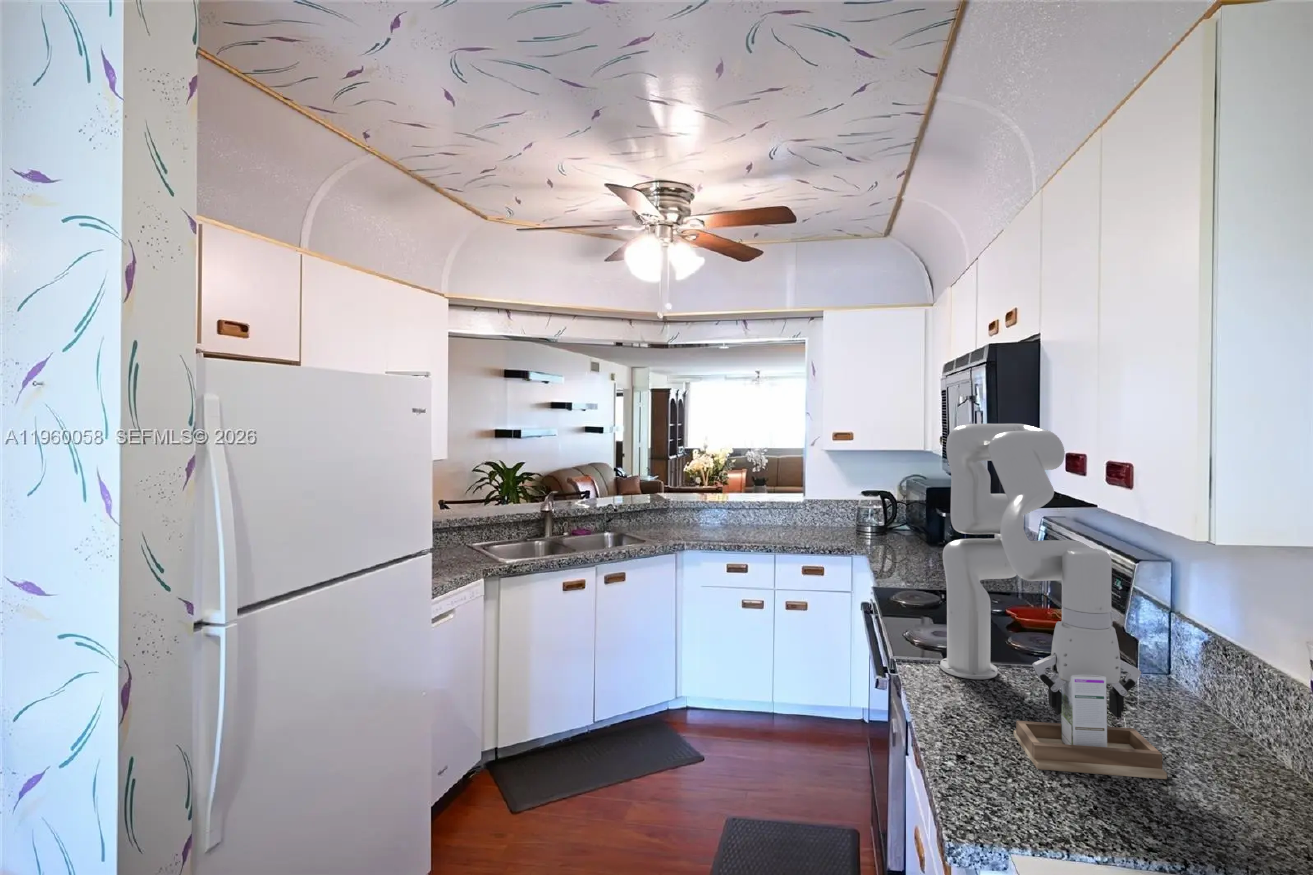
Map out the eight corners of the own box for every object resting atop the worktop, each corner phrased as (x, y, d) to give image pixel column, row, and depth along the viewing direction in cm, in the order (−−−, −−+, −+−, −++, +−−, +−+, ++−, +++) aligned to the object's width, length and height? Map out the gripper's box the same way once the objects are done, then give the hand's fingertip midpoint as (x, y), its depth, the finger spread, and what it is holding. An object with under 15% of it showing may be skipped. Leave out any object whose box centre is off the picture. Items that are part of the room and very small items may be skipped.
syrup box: (1108, 758, 122) (1109, 676, 121) (1071, 756, 123) (1071, 674, 122) (1094, 743, 127) (1094, 665, 127) (1059, 741, 128) (1059, 663, 128)
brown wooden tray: (1013, 735, 133) (1013, 717, 133) (1129, 743, 129) (1129, 724, 129) (1037, 769, 120) (1037, 749, 120) (1166, 779, 116) (1167, 758, 116)
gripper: (1129, 614, 126) (1129, 707, 127) (1026, 610, 129) (1026, 701, 130) (1150, 626, 119) (1150, 725, 119) (1040, 622, 122) (1040, 718, 122)
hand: (1085, 712), depth 124 cm, fingers open, 9 cm apart
